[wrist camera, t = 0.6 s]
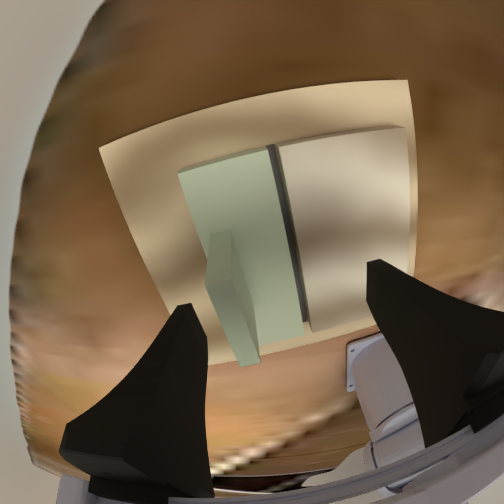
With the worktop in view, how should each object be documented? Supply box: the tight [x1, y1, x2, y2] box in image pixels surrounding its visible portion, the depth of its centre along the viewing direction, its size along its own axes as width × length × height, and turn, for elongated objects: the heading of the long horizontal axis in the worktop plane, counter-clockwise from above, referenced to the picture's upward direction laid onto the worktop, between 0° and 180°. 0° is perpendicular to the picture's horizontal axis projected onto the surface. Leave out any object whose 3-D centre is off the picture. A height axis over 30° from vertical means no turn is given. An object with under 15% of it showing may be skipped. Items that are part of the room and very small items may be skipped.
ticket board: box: [99, 80, 418, 365], centre depth 19 cm, size 20×20×3 cm
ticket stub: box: [178, 147, 305, 367], centre depth 16 cm, size 14×5×6 cm, turn 13°
